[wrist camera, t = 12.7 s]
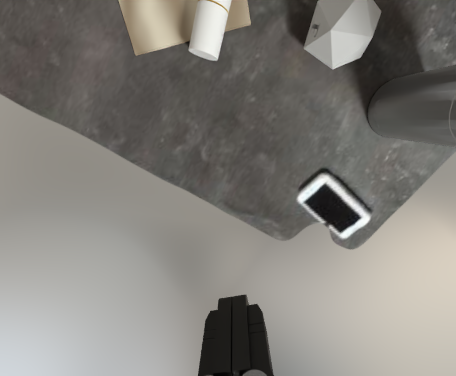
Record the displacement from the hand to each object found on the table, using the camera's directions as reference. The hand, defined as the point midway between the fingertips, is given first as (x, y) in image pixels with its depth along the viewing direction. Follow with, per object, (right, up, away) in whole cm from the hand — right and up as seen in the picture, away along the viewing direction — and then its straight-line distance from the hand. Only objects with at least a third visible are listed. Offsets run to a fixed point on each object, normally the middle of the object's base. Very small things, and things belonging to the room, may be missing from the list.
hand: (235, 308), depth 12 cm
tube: (-4, +26, +19) cm, 32 cm away
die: (+15, +29, +21) cm, 38 cm away
